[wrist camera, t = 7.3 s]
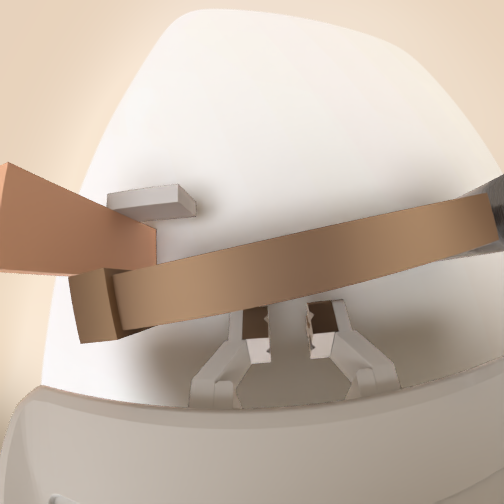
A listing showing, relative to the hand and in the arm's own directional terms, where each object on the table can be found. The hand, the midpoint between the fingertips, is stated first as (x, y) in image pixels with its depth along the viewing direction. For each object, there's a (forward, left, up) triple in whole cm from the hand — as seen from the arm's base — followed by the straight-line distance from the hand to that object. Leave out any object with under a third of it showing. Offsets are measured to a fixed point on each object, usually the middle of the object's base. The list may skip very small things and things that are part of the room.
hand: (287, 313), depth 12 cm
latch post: (+7, -4, -5) cm, 9 cm away
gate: (-1, -2, -4) cm, 5 cm away
